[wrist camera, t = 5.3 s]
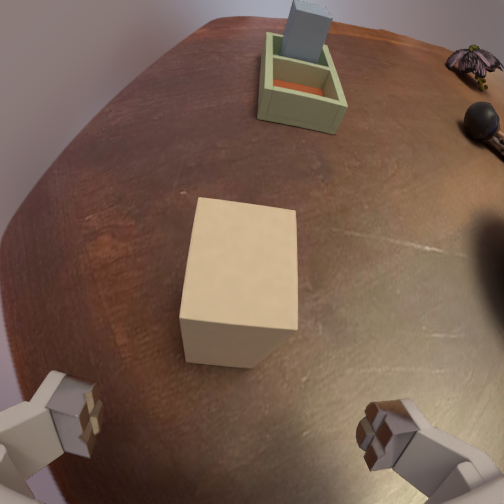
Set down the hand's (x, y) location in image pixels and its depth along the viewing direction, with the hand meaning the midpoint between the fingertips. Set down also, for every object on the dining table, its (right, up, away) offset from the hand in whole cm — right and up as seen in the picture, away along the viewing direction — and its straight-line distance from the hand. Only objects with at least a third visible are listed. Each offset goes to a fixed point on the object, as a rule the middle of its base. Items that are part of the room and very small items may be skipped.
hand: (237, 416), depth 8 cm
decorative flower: (+53, +47, +48) cm, 85 cm away
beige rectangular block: (-1, 0, +11) cm, 11 cm away
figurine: (+41, +21, +31) cm, 56 cm away
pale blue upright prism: (+6, +27, +27) cm, 39 cm away
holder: (+5, +24, +25) cm, 35 cm away
